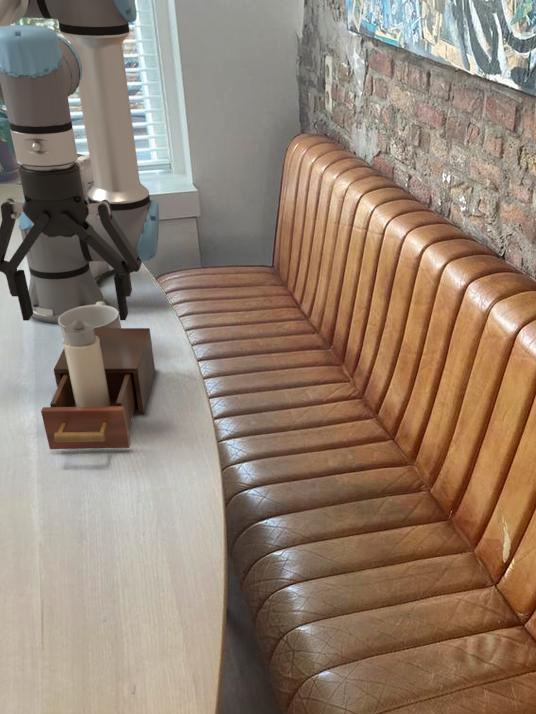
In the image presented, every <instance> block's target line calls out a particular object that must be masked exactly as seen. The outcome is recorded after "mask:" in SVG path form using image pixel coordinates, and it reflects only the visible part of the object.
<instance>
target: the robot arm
mask: <svg viewBox="0 0 536 714" xmlns="http://www.w3.org/2000/svg"><path fill="white" fill-rule="evenodd" d="M137 14H138V13H137V6H136V0H0V100H4V105H5V110H6V114H7V120H8V124H9V131H10V134H11V140H12V144H13V149H14V153H15V158H16V161H17V162H18V163H19V164H21V165H20V166H19V167H18V174H19V179H20V184H21V188H22V193H23V197H24V199H23V200H21V201H19V202H18V201H15V200H14V199H13V198H7V199H5V201H4V202H2V203H1V205H0V212H1V222H0V273H2V274H4V275H5V277H6V281H7V287H8V290H9V294H10V296H11V297H17V299H18V303H19V308H20V312H21V317H22V321H24V322H25V321H28V322H29V321H30V320H31V318H33V319H35V320H37V321H40V322H43V323H51V324H52V323H53V324H59V323H58V318H59V317H60V316H61V315H62V314H63V313H65V312H66V311H69V310H71V309H74V308H77V307H81V306H87V305H95V304H96V303H97V302H100V301H102V302H105V296H104V295H103V292H102V290H101V289H100V287H99V286H100V284H101V283H102V282H103V281H104V280H105V279H106V278H108V277H109V276H111V275H113V282H114V289H115V295H116V301H117V310H118V312H119V319H120V321H126V320H127V317H128V315H129V309H128V308H129V307H128V301H127V297H131V295H132V292H133V285H132V277H131V274H132V273H137V272H139V271H140V269H141V267H142V264H143V262H145V261H151V260H153V259H154V258H155V257H156V255H157V254H158V253H157V252H158V247H159V246H158V245H159V233H160V232H159V231H160V207H159V202H158V201H157V200H154V199H151V197H150V191H149V189H148V188H147V187H145V185H144V184H142V183H141V180H140V172H139V165H138V156H137V150H136V142H135V133H134V127H133V118H132V110H131V102H130V94H129V86H128V78H127V71H126V63H125V56H124V48H123V45H124V41H125V40H126V39H127V37H128V36H130V34H131V31H130V24H132V23H134V22H135V21H136V20H137V17H138V15H137ZM26 18H29V19H45V20H57V22H58V28H59V33H60V34H61V35H62V36H63V37H62V36H60V35H57V33H56V31H55V30H54V29H53V28H50V27H48V26H44V25H34V24H33V25H31V24H16V23H18V22H19V21H21V20H22V19H26ZM77 89H78V93H79V99H80V107H81V113H82V119H83V124H84V131H85V137H86V144H87V149H88V156H90V162H91V168H92V175H93V181H94V185H93V186H92V187H91V189H90V190H89V191H88V193H87V194H88V200H85V198H84V193H83V187H82V180H81V174H80V168H79V166H78V165H77V164H76V163H74V162H75V161H76V160H77V159H78V155H77V154H78V150H77V145H76V139H75V133H74V127H73V122H72V116H71V109H70V102H69V97H70V96H72V95H73V94H74V93H76V91H77ZM17 220H18V223H19V224H18V229H19V230H20V234H21V235H20V236H21V240H22V242H21V243H20V245H19V246H18V247H17V249H16V251H15V252H14V253H13V255H12V257H11V258H10V260H5V258H6V255H7V251H8V249H9V245H10V241H11V238H12V235H13V232H14V228H15V224H16V221H17ZM25 258H26V261H27V265H28V270H29V275H30V276H29V277H30V278H29V286H28V283H27V282H28V281H27V277H26V273H25V269H18V268H19V267H20V265H21V263H22V262H23V261H24V259H25ZM89 261H106V262H107V263H108V264H109V267H111V268H112V269H110V270H109V271H107V272H105V273H104V274H102V275H100V276H98V278H97V279H96V278H94V277H93V275H92V273H91V271H90V267H89Z"/></svg>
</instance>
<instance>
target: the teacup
mask: <svg viewBox="0 0 536 714" xmlns="http://www.w3.org/2000/svg"><path fill="white" fill-rule="evenodd" d="M75 320H81V321H82V322H85V323H90V324H92V325H93V326H94V328H122V324H121V320H120V316H119V309H118V308H115V307H114V306H110V305H107V304H106V302H105V301H104V302H102V301H100V302H97V303H96V304H95V305H87V306H81V307H77V308H74V309H71V310H69V311H66V312H65V313H63V314H62V315H61V316H60V317H59V318H58V323H57V324H58V326H59V327H60V331H61V335H62V338H63V340H64V339H65V338H66V337H65V332H64V328H65V327H66V326H67V325H69V324H72V323H73V322H74V321H75Z"/></svg>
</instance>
